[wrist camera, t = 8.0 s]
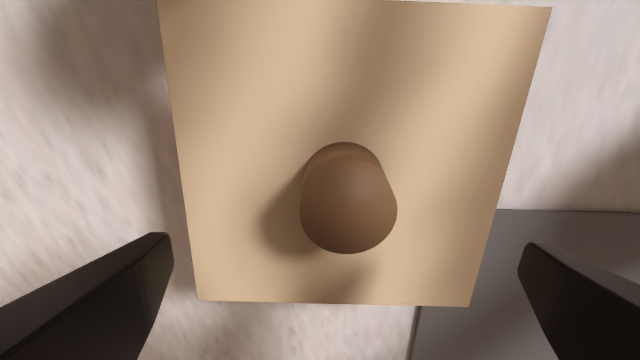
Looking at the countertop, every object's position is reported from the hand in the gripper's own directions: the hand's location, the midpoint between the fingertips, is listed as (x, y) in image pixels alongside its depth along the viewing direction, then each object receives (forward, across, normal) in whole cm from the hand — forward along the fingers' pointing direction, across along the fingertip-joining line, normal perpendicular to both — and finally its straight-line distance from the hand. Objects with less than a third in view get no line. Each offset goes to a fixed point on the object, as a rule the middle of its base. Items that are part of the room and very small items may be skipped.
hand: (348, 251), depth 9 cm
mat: (+11, -14, +12) cm, 22 cm away
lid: (+5, 0, 0) cm, 5 cm away
